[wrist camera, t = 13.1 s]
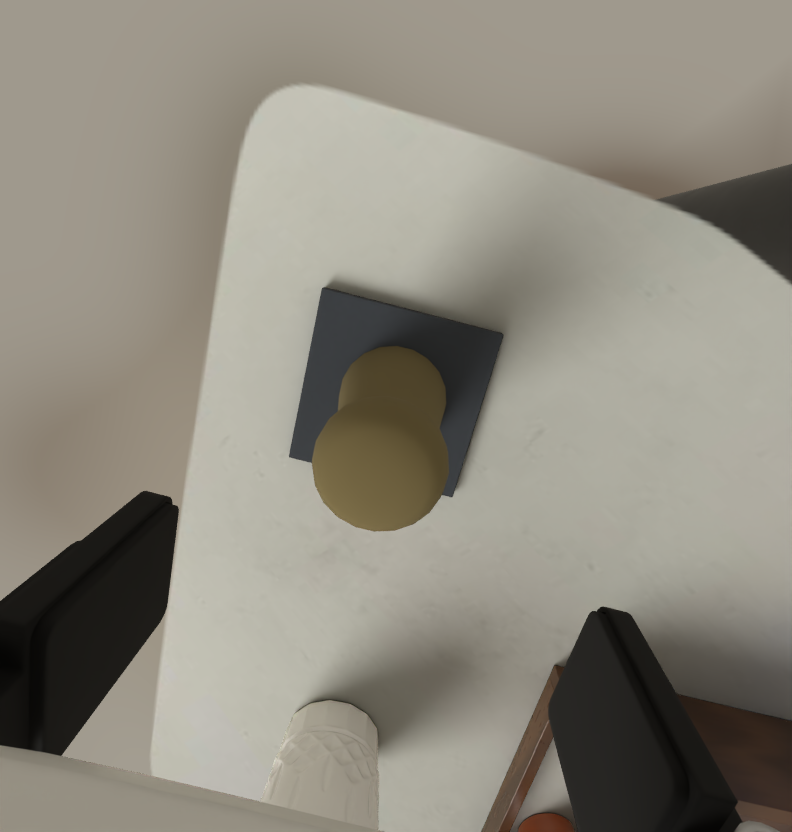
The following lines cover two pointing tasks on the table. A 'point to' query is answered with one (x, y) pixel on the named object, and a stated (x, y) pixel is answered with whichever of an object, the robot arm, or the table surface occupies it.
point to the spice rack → (723, 736)
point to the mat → (396, 326)
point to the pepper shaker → (384, 442)
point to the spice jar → (546, 824)
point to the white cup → (328, 765)
